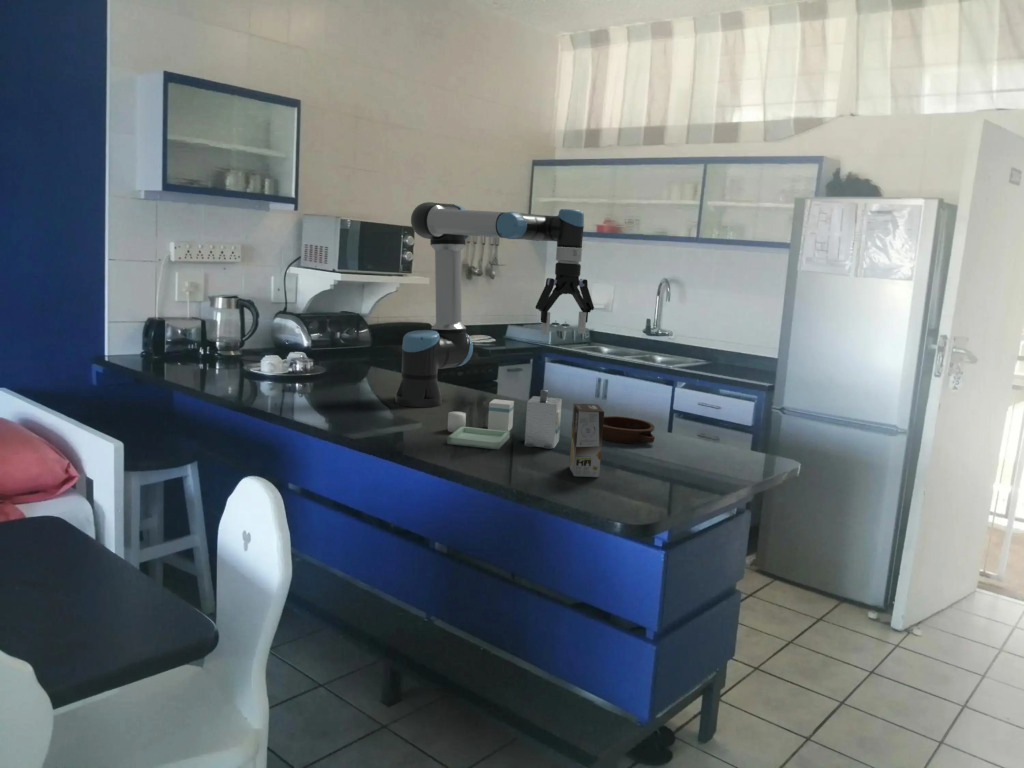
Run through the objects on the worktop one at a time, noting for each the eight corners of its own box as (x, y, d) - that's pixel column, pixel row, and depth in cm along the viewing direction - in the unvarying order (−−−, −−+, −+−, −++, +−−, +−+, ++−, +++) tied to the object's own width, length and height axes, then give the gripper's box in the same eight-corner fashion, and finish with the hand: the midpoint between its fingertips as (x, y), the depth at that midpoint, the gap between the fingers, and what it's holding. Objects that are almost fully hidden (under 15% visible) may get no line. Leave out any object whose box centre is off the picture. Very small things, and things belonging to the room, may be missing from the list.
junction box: (523, 446, 222) (527, 391, 220) (531, 437, 233) (534, 384, 230) (554, 449, 221) (558, 394, 218) (560, 440, 231) (564, 387, 229)
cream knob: (445, 431, 234) (446, 414, 233) (450, 427, 239) (451, 411, 238) (462, 433, 233) (463, 416, 232) (467, 429, 238) (468, 412, 237)
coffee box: (600, 477, 197) (605, 411, 194) (573, 476, 196) (578, 410, 193) (593, 467, 206) (598, 403, 203) (567, 466, 205) (572, 402, 202)
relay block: (487, 429, 239) (489, 402, 238) (492, 425, 245) (493, 399, 243) (508, 432, 238) (509, 404, 236) (512, 427, 244) (514, 401, 242)
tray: (447, 443, 220) (447, 437, 220) (461, 432, 233) (461, 426, 233) (498, 449, 217) (498, 442, 217) (509, 437, 231) (510, 431, 230)
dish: (631, 451, 225) (633, 433, 224) (572, 434, 240) (574, 417, 240) (671, 443, 236) (672, 426, 235) (612, 428, 252) (613, 412, 251)
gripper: (541, 261, 236) (536, 335, 239) (608, 264, 249) (603, 334, 253) (526, 260, 242) (522, 332, 245) (593, 263, 255) (588, 331, 259)
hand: (563, 333), depth 249 cm, fingers open, 13 cm apart
